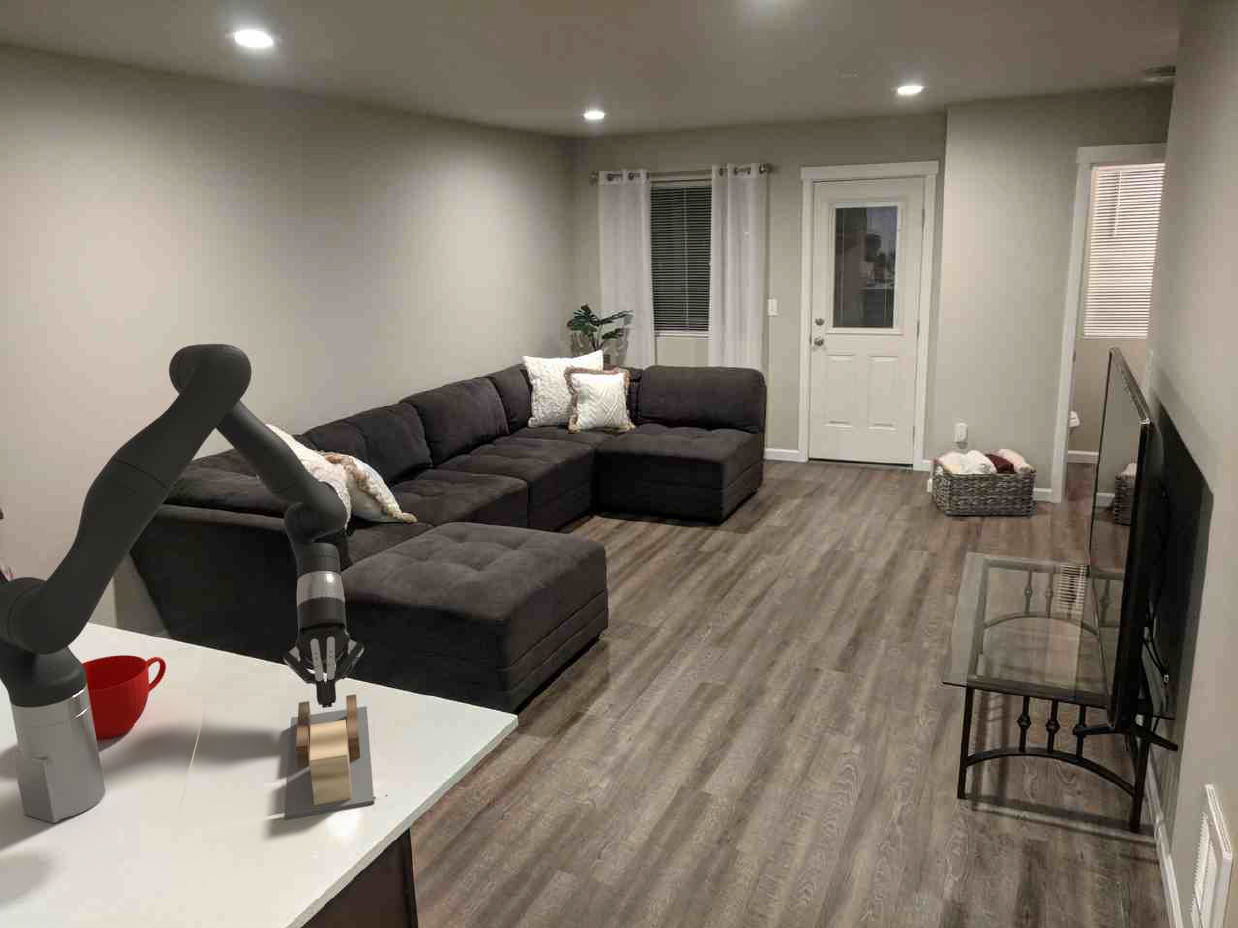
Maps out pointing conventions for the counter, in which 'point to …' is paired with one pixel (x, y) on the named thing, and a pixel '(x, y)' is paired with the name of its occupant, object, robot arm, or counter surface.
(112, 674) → the ceramic cup
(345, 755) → the oak block
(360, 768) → the chute board
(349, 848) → the counter surface
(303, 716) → the chute rails
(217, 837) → the counter surface
